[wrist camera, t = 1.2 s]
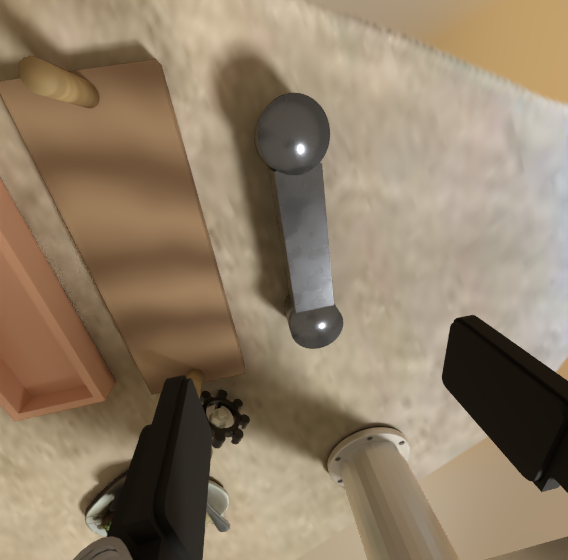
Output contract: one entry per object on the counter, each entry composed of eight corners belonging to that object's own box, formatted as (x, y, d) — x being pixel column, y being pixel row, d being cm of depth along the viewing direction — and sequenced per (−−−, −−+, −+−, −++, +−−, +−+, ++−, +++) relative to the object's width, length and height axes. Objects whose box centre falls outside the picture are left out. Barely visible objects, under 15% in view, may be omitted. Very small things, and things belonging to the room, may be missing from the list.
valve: (211, 458, 38) (249, 395, 34) (206, 516, 32) (251, 448, 28) (161, 449, 36) (195, 382, 32) (146, 509, 30) (186, 435, 26)
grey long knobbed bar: (332, 320, 31) (344, 342, 27) (287, 329, 31) (294, 353, 27) (312, 97, 22) (326, 87, 18) (248, 107, 21) (251, 99, 18)
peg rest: (244, 363, 32) (246, 412, 26) (155, 383, 31) (136, 438, 25) (161, 65, 20) (129, 29, 14) (11, 86, 19) (-90, 58, 13)
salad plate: (264, 489, 43) (267, 525, 39) (188, 545, 46) (183, 584, 42) (155, 439, 35) (144, 478, 31) (73, 512, 38) (53, 555, 34)
